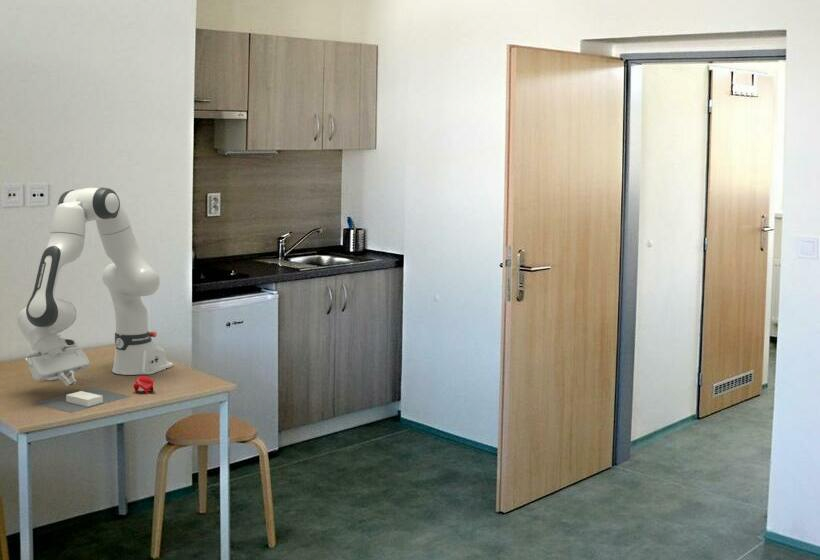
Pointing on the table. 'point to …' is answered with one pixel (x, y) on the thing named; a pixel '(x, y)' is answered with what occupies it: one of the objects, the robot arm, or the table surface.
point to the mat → (62, 405)
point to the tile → (84, 399)
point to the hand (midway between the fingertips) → (71, 384)
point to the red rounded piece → (143, 384)
